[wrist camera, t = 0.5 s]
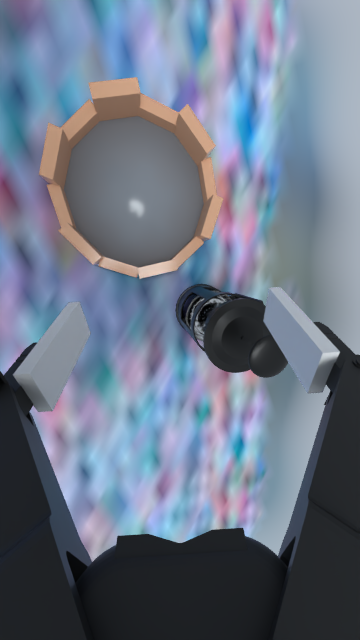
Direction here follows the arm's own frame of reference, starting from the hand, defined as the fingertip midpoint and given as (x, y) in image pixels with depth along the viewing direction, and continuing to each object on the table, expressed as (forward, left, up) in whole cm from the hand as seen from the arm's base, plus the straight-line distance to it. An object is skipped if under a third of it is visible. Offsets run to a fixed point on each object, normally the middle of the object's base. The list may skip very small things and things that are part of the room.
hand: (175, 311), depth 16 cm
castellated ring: (-13, +1, -24) cm, 28 cm away
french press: (+7, +8, -25) cm, 27 cm away
